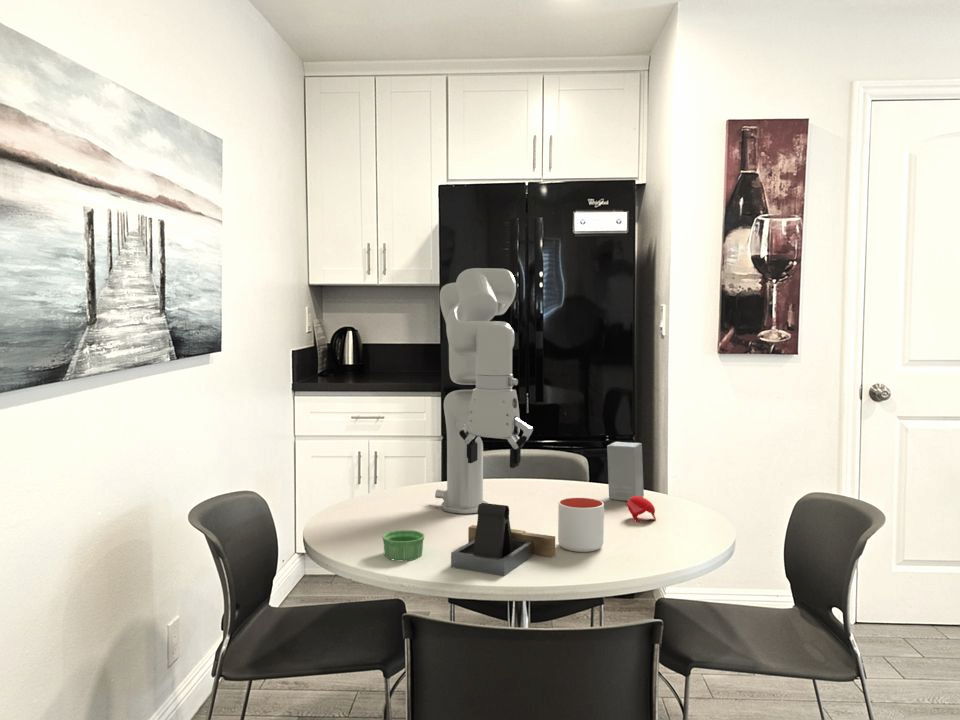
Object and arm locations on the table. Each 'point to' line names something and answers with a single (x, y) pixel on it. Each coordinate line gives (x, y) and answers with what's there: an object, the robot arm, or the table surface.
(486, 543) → the phone stand
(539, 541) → the door edge rail
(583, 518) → the cup
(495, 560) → the frame
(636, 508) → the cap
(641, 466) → the skincare box
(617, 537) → the table surface
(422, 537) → the ramekin
